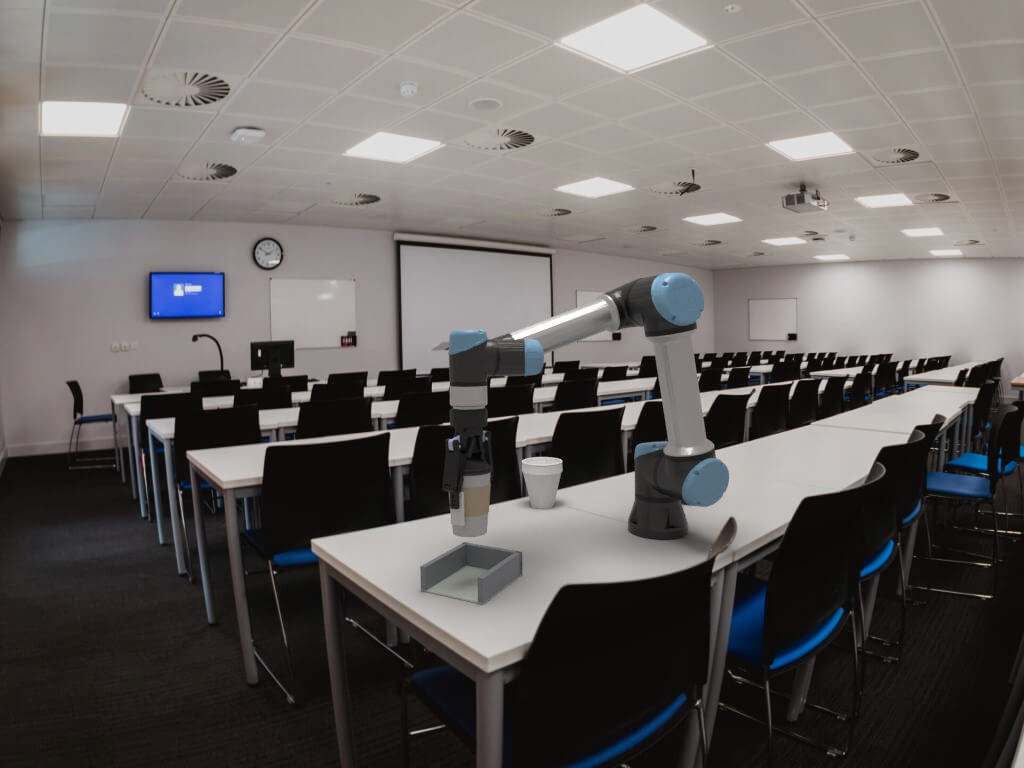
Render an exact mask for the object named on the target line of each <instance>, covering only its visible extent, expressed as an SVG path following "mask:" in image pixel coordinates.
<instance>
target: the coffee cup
mask: <svg viewBox="0 0 1024 768" xmlns="http://www.w3.org/2000/svg"><path fill="white" fill-rule="evenodd" d="M491 472H492V470H491V465H490V464H487V462H486V460H485V459H474V458H470V459H469V460H468V462H466V467H465V470H464V474H463V476H464V481H463V485H462V490H461V492H464V523H465V525H463V526H461V525H454V524H451V526H452V534H453V535H454V536H457V537H460V538H476V537H481V536H484V535H486V534H488V519H489V512H490V500H491V487H492V484H491V481H490V474H491ZM448 485H449V484H448ZM448 500H449V502H448V503H450V493H449V492H448ZM449 511H450V512H449V513H450V514H451V508H450V507H449Z"/></svg>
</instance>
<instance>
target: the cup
mask: <svg viewBox="0 0 1024 768" xmlns="http://www.w3.org/2000/svg"><path fill="white" fill-rule="evenodd" d="M521 472H522V475H523V477H524V483H525V486H526V490H527V495H528V499H529V503H530V505H531V508H533V509H540V510H546V509H552V508H554V506H555V503H556V498H557V495H558V494H557V493H558V490H559V489H558V488H559V483H560V479H561V476H562V472H563V460H562V459H561V458H558V457H551V456H550V457H549V456H535V457H527V458H525V459H524V458H523V459H522V460H521Z"/></svg>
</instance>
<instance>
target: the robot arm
mask: <svg viewBox="0 0 1024 768" xmlns="http://www.w3.org/2000/svg"><path fill="white" fill-rule="evenodd" d="M704 308H705V296H704V293H703V290H702V288H701V285H699V282H697V280H695V279H694V278H692V277H691V275H688V274H686V273H683V272H665V273H662V274H657V275H650V276H646V277H640V278H636V279H633V280H630V281H629V282H626V283H625V284H623V285H620V286H618V287H616V288H614V289H611V290H609V291H607V292H604V293H601V294H599V295H598V296H597V297H596V299H595V300H594V301H592V302H588V303H586V304H584V305H581V306H578V307H575V308H573V309H571V310H568V311H565V312H561V313H559V314H556V315H554V316H551V317H549V318H545V319H543V320H540V321H537V322H534V323H532V324H529V325H526V326H523V327H521V328H518V329H515V330H513V331H510V332H507V333H505V334H502V335H498V336H496V337H493V338H489V339H488V336H487V335H488V334H487V331H486V330H484V329H454V330H453V331H451V332H450V333H449V339H448V340H449V341H448V353H447V355H448V370H449V372H448V373H449V405H450V406H451V408H450V410H449V425H450V427H452V428H453V429H454V436H453V438H446V439H445V440H444V443H445V444H444V445H445V456H444V457H445V458H444V467H443V478H442V488H441V489H442V491H445V492H448V494H449V493H450V502H449V509H450V508H451V513H450V524H451V525H452V524H454V525H461V526H463V525H465V523H464V492H461V490H462V485H463V481H464V476H463V474H464V470H465V467H466V462H468V460H469V459H470V458H474V459H485V460H486V462H487V464H490V465H491V470H492V472H491V474H490V483H491V482H493V481H494V475H495V469H494V467H495V466H494V461H493V460H494V459H493V453H492V444H491V443H492V432H491V431H489V430H483V428H486V427H487V425H488V418H489V417H488V409H487V407H486V406H487V405H488V377H490V378H491V377H521V376H524V377H527V376H536V375H538V374H540V373H541V371H543V368H544V363H545V355H547V354H549V353H551V352H554V351H556V350H559V349H562V348H565V347H567V346H569V345H571V344H576V343H577V342H580V341H582V340H586V339H587V338H590V337H593V336H595V335H599V334H600V333H603V332H606V331H607V332H609V333H614V332H615V333H616V332H617V331H620V330H623V329H628V328H637V327H638V328H639V327H641V328H642V327H643V330H644V336H645V339H647V340H648V341H649V342H651V343H652V345H653V349H654V350H653V351H654V355H655V356H654V357H655V362H656V363H655V365H656V370H657V376H658V383H659V388H660V396H661V402H662V408H663V414H664V415H663V416H664V421H665V428H666V435H667V437H668V441H665V440H664V442H661V441H651V442H650V441H649V442H642V443H639V444H637V445H636V446H635V449H634V458H633V460H634V501H633V504H632V507H631V510H630V513H629V515H628V519H627V531H628V532H629V533H631V534H633V535H635V536H638V537H642V538H646V539H647V538H648V539H655V540H671V539H680V538H683V537H685V536H687V535H688V533H689V524H688V519H687V516H686V513H685V511H684V507H683V505H682V502H684V503H685V502H686V503H687V505H690V506H696V507H700V508H706V507H707V508H708V507H710V506H712V505H715V504H716V503H718V502H719V501H720V500H721V499H722V498H723V496H724V494H725V493H726V492H727V490H728V487H729V482H730V471H729V468H728V466H727V465H726V463H724V462H723V460H721V459H719V458H717V455H716V448H715V444H714V443H713V441H711V440H710V439H708V438H707V435H706V434H707V433H706V427H705V421H704V414H703V413H704V412H703V407H702V399H701V394H700V392H701V391H700V388H699V387H700V385H699V381H698V375H697V374H698V373H697V367H696V359H695V351H694V346H693V336H694V334H695V333H696V332H697V330H698V324H697V321H698V320H699V319H700V318H701V316H702V312H703V311H704ZM448 484H449V485H448Z"/></svg>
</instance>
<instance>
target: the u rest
mask: <svg viewBox="0 0 1024 768" xmlns="http://www.w3.org/2000/svg"><path fill="white" fill-rule="evenodd" d="M419 570H420V571H419V572H420V591H421V592H424V593H429V594H433V595H439V596H441V597H442V596H443V597H448V598H452V599H455V600H456V599H457V600H461V601H465V602H470V603H475V604H479V605H485V604H487V603H488V602H489V601H490V600H492V599H493V598H494V597H496V596H497V595H498V594H499V593H501V592H502V591H503V590H505V589H506V588H507V587H508V586H510V585H511V584H512V583H514V582H515V581H516V580H518V579H519V578H522V577H521V576H523V551H518V550H513V549H508V548H501V547H495V546H489V545H483V544H479V543H478V544H477V543H473V542H472V543H471V542H465V541H464V542H462V543H460V544H458V545H457V546H454V547H453V548H451V549H449V550H447V551H445V552H444V553H442V554H439V555H438V556H436V557H435V558H433V559H431V560H430V561H429V560H428V562H426V563H424V564H422V565H420V569H419Z"/></svg>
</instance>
